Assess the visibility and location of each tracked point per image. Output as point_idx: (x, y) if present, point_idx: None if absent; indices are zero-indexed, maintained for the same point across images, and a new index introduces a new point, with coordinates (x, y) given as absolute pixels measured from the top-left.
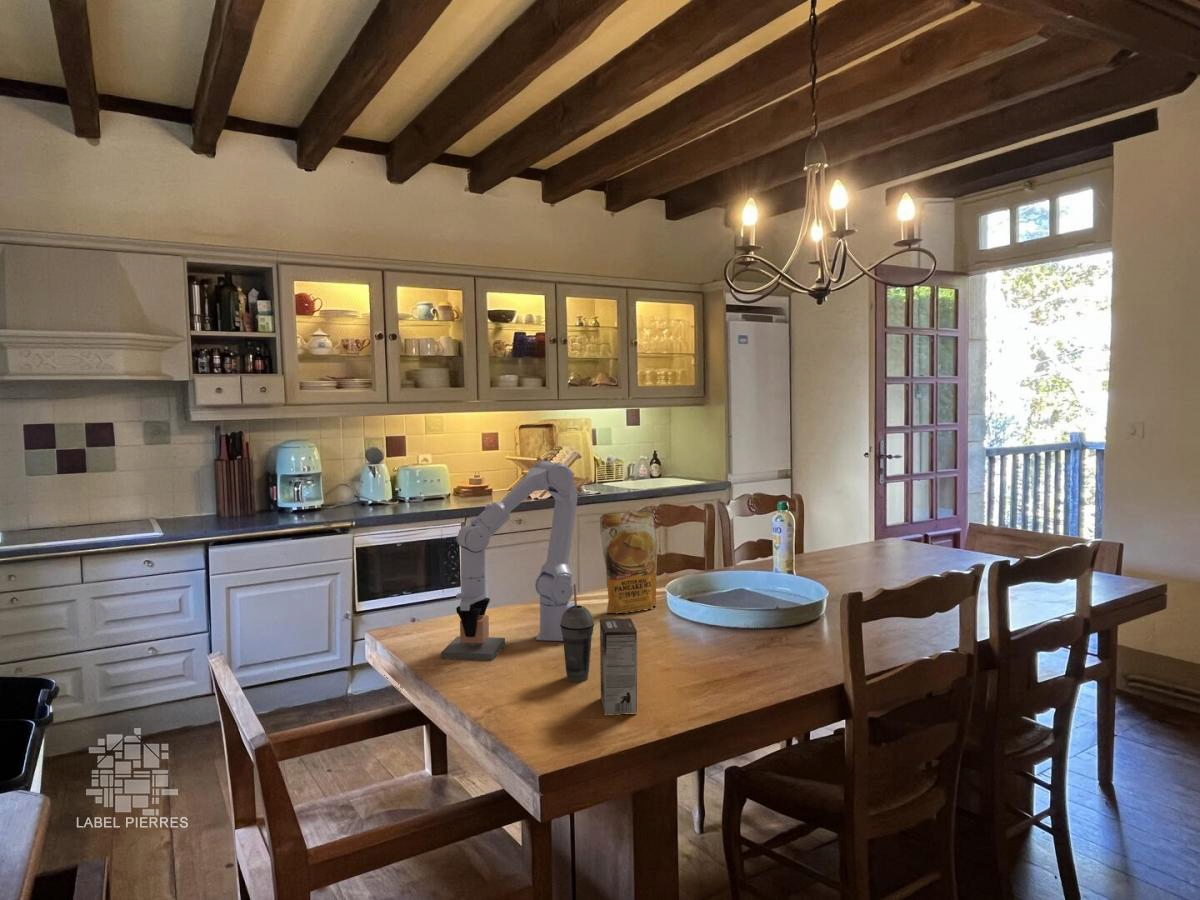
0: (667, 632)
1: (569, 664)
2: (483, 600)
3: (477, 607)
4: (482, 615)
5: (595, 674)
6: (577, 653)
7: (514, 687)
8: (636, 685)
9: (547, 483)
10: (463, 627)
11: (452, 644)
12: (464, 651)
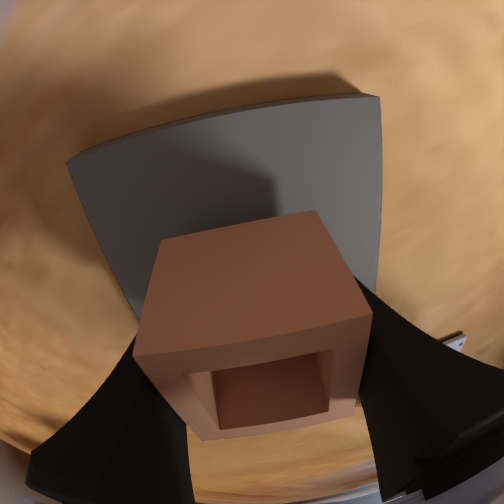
0: None
1: None
2: (389, 497)
3: (385, 430)
4: (349, 399)
5: (194, 462)
6: None
7: (61, 408)
8: None
9: None
10: (128, 348)
11: (211, 141)
12: (131, 265)
